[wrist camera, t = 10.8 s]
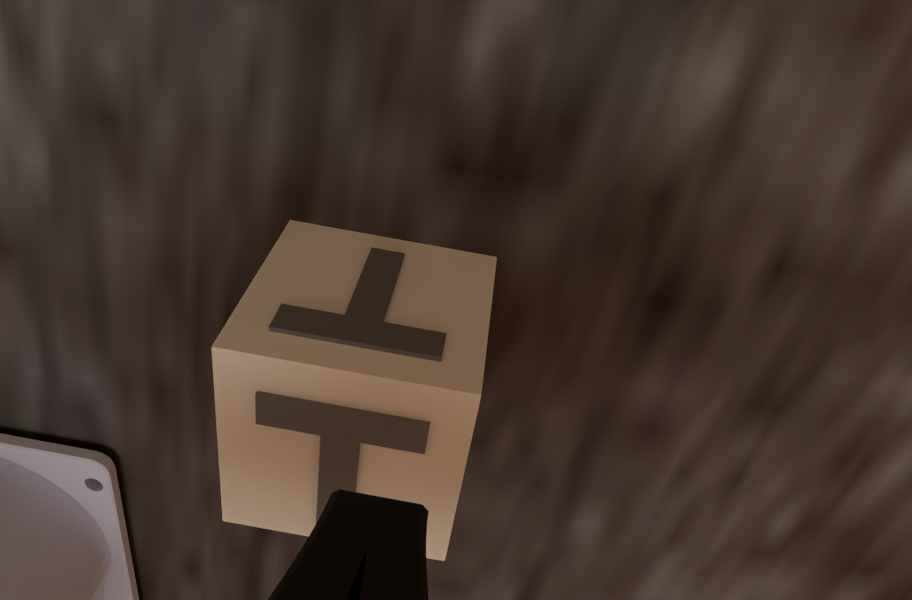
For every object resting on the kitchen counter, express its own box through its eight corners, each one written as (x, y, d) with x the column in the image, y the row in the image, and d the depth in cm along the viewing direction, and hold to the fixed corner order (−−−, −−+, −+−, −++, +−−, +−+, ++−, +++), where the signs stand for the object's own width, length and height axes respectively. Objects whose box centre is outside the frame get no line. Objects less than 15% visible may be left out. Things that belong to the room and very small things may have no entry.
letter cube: (466, 406, 18) (444, 565, 14) (288, 375, 18) (220, 524, 14) (498, 250, 16) (481, 395, 12) (291, 214, 16) (208, 345, 12)
